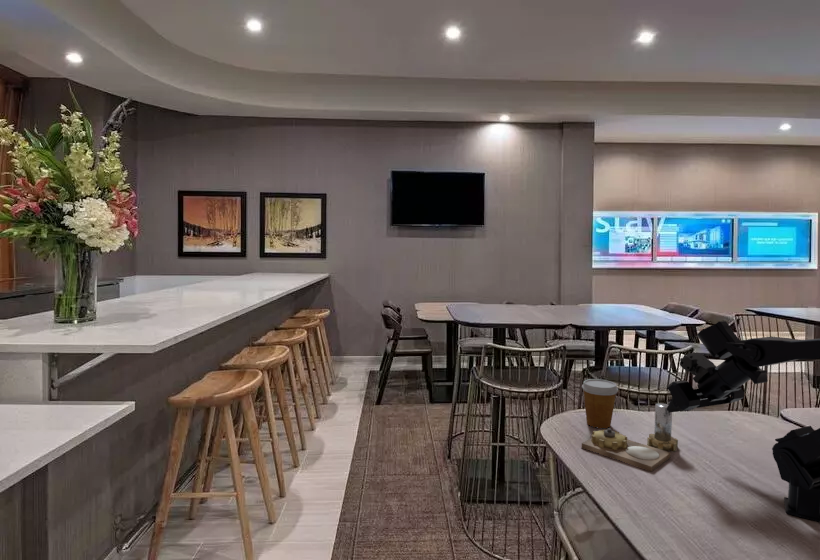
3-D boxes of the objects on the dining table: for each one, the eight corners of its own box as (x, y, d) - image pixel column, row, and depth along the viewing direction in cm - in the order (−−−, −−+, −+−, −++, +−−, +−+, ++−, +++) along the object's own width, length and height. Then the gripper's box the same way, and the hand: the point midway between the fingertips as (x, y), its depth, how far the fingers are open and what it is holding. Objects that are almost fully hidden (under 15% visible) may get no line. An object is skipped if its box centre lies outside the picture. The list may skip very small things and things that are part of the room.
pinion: (675, 454, 118) (677, 412, 117) (645, 447, 122) (647, 407, 121) (678, 444, 124) (680, 404, 123) (650, 438, 128) (651, 399, 127)
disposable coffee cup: (599, 416, 144) (600, 377, 143) (624, 428, 135) (625, 386, 134) (573, 421, 140) (574, 380, 139) (597, 433, 131) (598, 389, 130)
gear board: (670, 457, 116) (671, 438, 116) (651, 471, 109) (652, 451, 109) (602, 436, 129) (603, 419, 129) (581, 447, 122) (582, 429, 121)
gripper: (734, 341, 114) (690, 375, 125) (676, 347, 108) (635, 382, 119) (767, 383, 108) (717, 415, 119) (707, 392, 101) (660, 425, 112)
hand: (682, 408), depth 117 cm, fingers open, 9 cm apart
